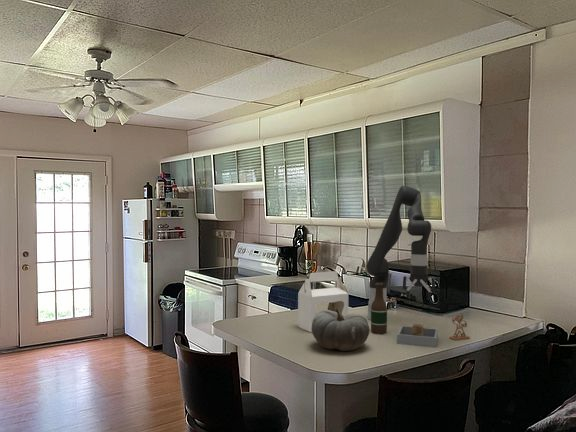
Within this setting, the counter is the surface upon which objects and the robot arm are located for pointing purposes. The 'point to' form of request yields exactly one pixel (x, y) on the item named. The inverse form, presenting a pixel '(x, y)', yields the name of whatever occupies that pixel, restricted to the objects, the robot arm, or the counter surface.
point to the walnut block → (417, 330)
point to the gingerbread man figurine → (460, 337)
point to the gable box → (320, 298)
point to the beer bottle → (379, 312)
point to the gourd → (340, 330)
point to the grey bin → (417, 337)
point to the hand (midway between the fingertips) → (418, 299)
